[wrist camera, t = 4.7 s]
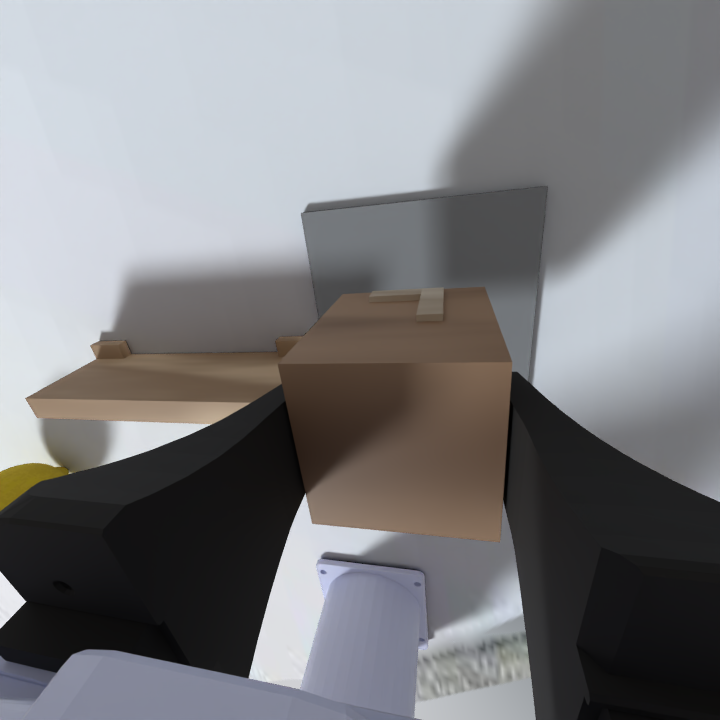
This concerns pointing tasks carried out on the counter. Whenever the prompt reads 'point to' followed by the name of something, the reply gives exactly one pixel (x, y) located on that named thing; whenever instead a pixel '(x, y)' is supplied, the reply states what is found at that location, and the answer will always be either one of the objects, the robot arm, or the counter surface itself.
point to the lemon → (25, 479)
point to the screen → (161, 385)
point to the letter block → (403, 412)
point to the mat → (437, 253)
